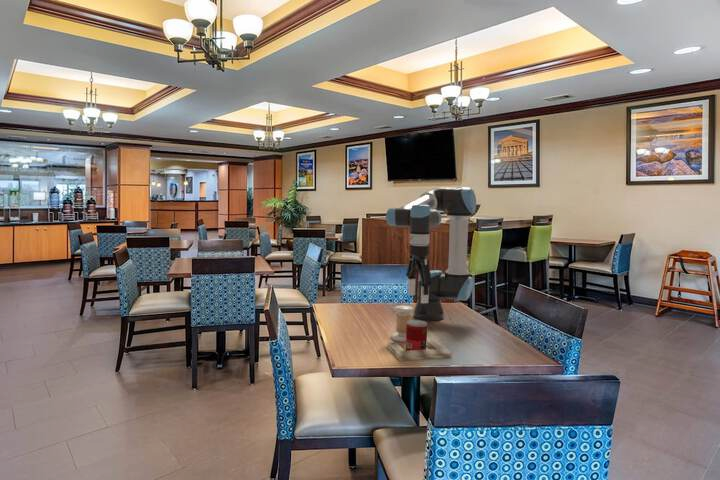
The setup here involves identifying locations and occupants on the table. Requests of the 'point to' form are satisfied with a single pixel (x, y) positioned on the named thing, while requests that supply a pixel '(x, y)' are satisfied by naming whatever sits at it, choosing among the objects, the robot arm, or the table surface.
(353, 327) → the table surface
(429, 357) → the notched board
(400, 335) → the bobbin
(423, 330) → the canned food
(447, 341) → the table surface
